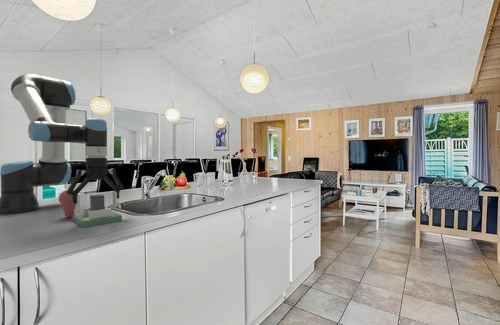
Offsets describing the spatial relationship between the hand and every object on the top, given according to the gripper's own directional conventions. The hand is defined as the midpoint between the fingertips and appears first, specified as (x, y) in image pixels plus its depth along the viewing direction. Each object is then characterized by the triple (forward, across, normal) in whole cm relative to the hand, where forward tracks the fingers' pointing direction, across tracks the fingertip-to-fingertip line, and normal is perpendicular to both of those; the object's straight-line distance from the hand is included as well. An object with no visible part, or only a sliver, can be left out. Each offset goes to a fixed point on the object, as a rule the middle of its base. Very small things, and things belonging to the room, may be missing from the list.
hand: (97, 209), depth 105 cm
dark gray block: (+3, 0, 0) cm, 3 cm away
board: (+5, 0, 0) cm, 5 cm away
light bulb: (+5, -7, +14) cm, 16 cm away
